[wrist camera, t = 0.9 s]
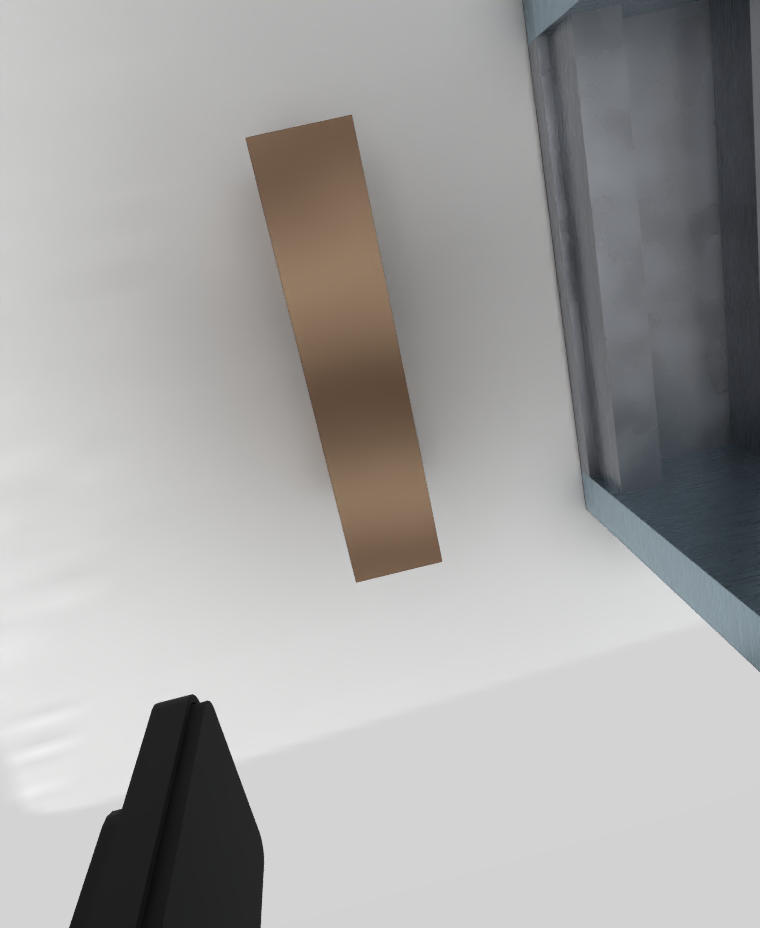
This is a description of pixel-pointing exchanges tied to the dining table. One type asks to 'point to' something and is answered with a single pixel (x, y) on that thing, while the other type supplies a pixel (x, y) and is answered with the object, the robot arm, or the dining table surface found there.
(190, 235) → the dining table surface
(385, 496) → the brown rectangular block
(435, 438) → the dining table surface
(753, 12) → the door track
